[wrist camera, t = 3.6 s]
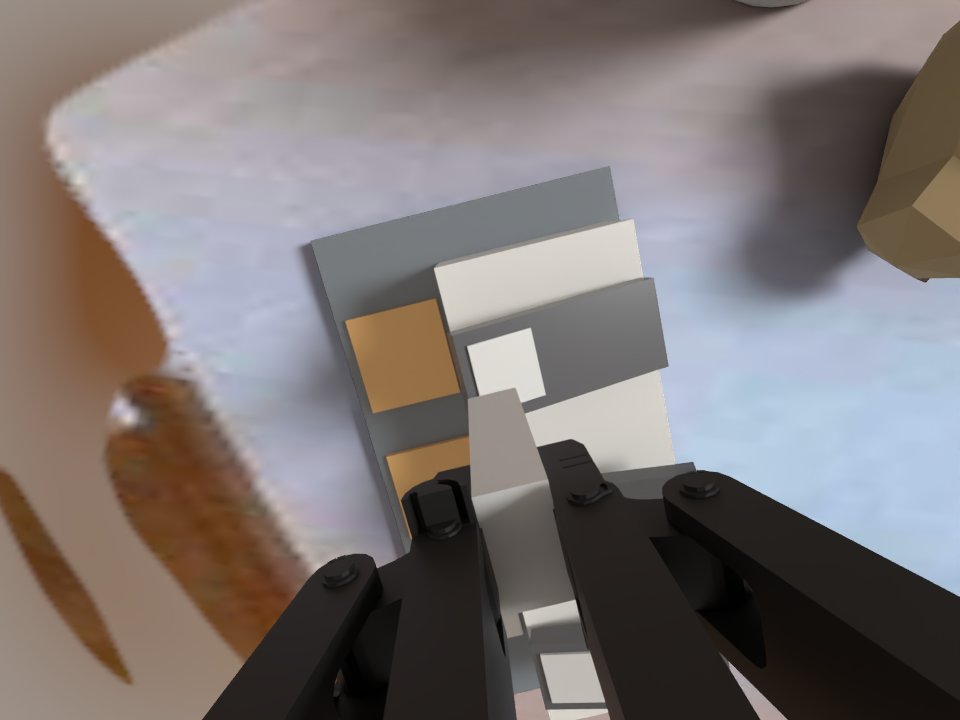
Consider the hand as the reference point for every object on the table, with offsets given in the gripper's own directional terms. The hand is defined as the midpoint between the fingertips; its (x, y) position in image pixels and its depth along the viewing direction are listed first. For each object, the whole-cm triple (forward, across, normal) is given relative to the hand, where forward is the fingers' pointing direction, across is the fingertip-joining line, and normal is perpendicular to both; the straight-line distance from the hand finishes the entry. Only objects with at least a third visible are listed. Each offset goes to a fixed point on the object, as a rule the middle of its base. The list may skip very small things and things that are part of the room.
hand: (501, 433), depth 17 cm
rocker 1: (+9, -4, 0) cm, 10 cm away
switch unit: (+18, 0, +9) cm, 20 cm away
